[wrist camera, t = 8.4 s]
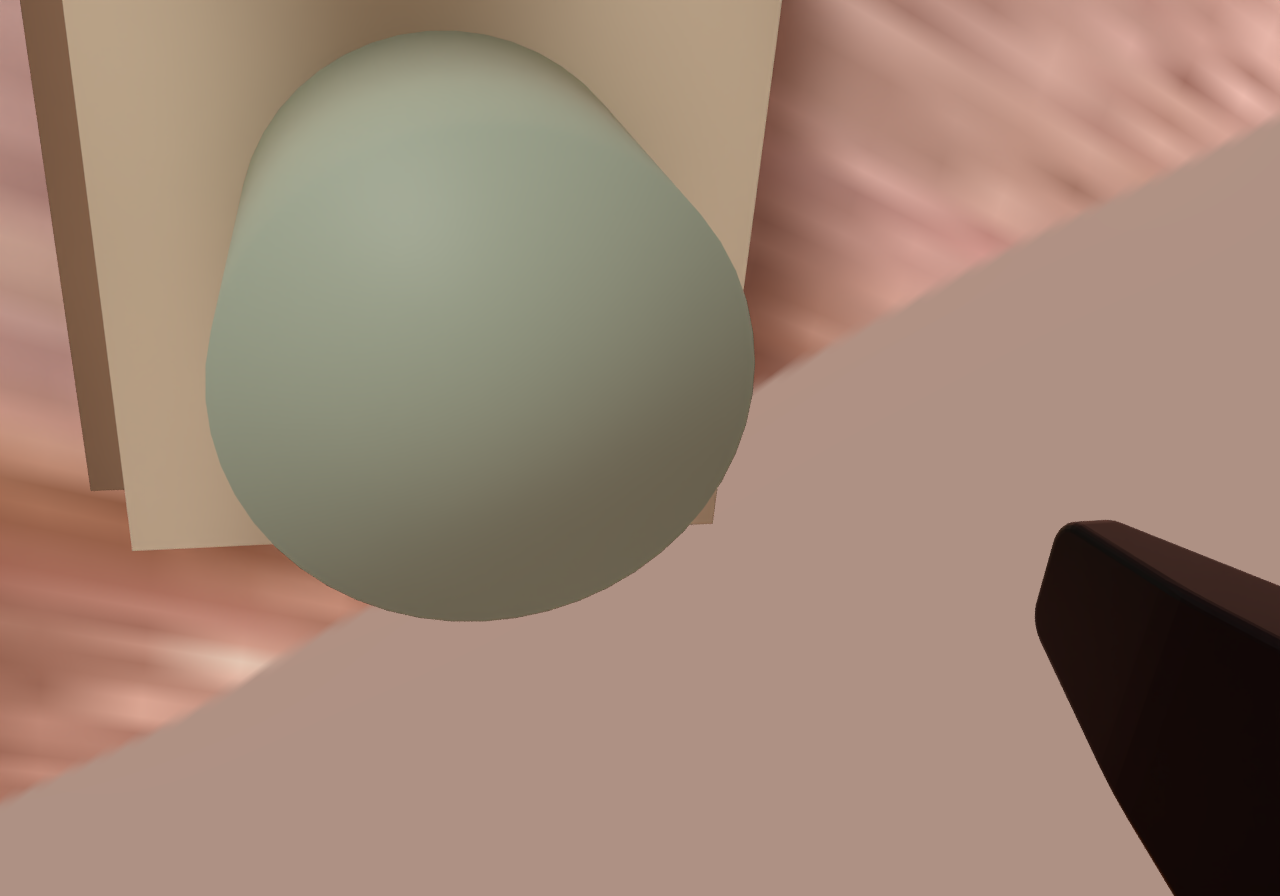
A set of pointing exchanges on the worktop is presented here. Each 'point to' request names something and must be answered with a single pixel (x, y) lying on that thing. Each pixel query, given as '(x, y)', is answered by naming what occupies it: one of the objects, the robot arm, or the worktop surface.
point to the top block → (242, 110)
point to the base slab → (73, 236)
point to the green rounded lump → (470, 336)
